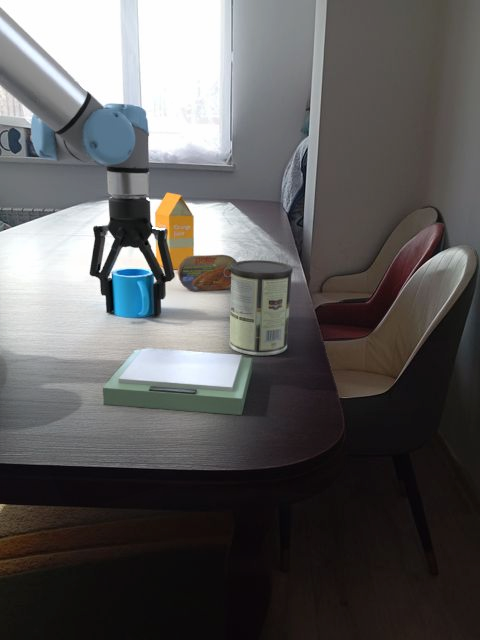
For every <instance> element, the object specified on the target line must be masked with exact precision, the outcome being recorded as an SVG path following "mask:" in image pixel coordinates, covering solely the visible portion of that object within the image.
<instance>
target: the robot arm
mask: <svg viewBox="0 0 480 640" xmlns="http://www.w3.org/2000/svg"><path fill="white" fill-rule="evenodd" d="M0 87H1V88H2V89H3V90H5V91H6V92H7V93H8V94H9V95H11V97H13V98H14V99H15V100H17V101H18V102H19V103H20V104H21V105H22V106H23V107H25V108H26V110H29V112H31V113H32V116H31V121H30V134H31V135H30V136H31V141H32V146H33V149H34V151H35V153H36V155H37V156H38V157H39V158H40V159H42V160H48V161H49V160H50V161H56V162H60V161H66V162H67V161H68V162H69V161H70V162H81V163H90V164H97V165H99V166H103V167H104V166H106V177H107V193H108V194H109V195H110V197H109V198H108V200H107V201H108V217H109V221H108V224H101V223H99V224H97V225H94V226H93V228H92V231H93V235H94V236H93V237H94V242H93V247H92V255H91V259H90V260H91V261H90V267H89V275H90V276H91V277H95V278H97V279H98V280H99V284H100V295H101V296H105V310H106V311H105V313H106V314H111V313H112V312H114V308H113V290H112V277H111V274H112V273H111V272H112V271H113V268H114V266H115V263H116V262H117V260H118V258H119V256H120V254H121V251H122V249H123V248H129V247H131V248H134V249H139V251H140V253H141V254H142V255H143V257H144V259H145V262H146V263H147V265H148V267H149V270H151V271H152V273H153V275H154V280H155V281H154V284H153V298H154V314H153V317H159V316H160V315H161V313H162V300H164V299H165V297H166V295H167V294H166V293H167V292H166V285H167V284H166V283H167V282H171V281H173V280H174V279H175V277H176V275H175V271H174V270H175V269H174V270H173V265H172V261H171V257H170V252H169V248H168V244H167V233H168V231H167V229H166V228H163V229H159V228H155V227H154V226H153V224H152V219H151V200H150V198H149V197H148V196H149V195H150V194H151V190H150V189H151V188H150V158H149V156H150V155H149V136H150V132H149V122H148V121H149V120H148V114H147V110H146V109H145V108H144V107H142V106H141V105H138V104H137V105H136V104H127V103H112V102H111V103H105V104H104V105H103V104H102V103H101V102H100V101H99V100H98V99H96V97H95V96H94V95H92V94H91V93H90V91H88V90H87V89H86V88H85V87H83V86H82V85H81V84H80V82H79V81H77V79H75V77H73V76H72V75H71V74H70V73H69V72H68V70H66V69H65V68H64V67H63V66H62V65H61V64H60V62H58V61H57V60H56V59H54V57H53V56H51V54H50V53H49V52H47V51H46V50H45V49H44V48H43V47H42V46H41V44H39V43H38V42H37V41H36V40H35V39H34V38H33V37H32V36H31V35H30V34H29V33H28V32H27V31H26V30H25V29H24V28H23V27H22V26H21V25H20V24H18V22H17V21H16V20H15V19H13V18H12V17H11V15H9V13H7V12H6V11H5V10H4V9H3V7H1V6H0ZM108 233H110V234H111V236H112V238H113V242H112V244H111V247H110V250H109V252H108V255H107V257H106V259H105V262H104V264H103V266H102V262H103V256H104V251H105V244H106V237H107V236H108ZM152 235H153V236H154V239H155V241H156V240H158V248H159V252H160V256H161V260H162V264H163V267H162V266H160V265H159V263H158V261H157V259H156V254H155V253H154V251H153V249H152V245H151V244H150V241H149V238H150V237H151V236H152Z"/></svg>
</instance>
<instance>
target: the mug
mask: <svg viewBox="0 0 480 640" xmlns="http://www.w3.org/2000/svg"><path fill="white" fill-rule="evenodd" d="M110 274H111V278H112V290H113V308H114V311H113V314H114V315H116V316H118V317H121V318H128V319H129V318H131V319H137V318H145V317H149V316H152V315H154V298H153V284H154V283H155V277H154V275H153V273H152V271H151V269H148V268H143V267H141V268H140V267H124V268H118V269H114V270H112V271H111V273H110Z"/></svg>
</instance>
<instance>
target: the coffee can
mask: <svg viewBox="0 0 480 640" xmlns="http://www.w3.org/2000/svg"><path fill="white" fill-rule="evenodd" d="M293 268H294V267H293V266H291V265H289V264H288V263H284V262H281V261H273V260H263V259H262V260H260V259H254V260H253V259H252V260H249V259H248V260H240V261H237V262H235V263H233V264H231V288H230V315H229V323H230V324H229V343H228V345H229V347H230V349H231V350H232V351H235V352H237V353H241V354H242V355H247V356H255V357H267V356H275V355H279V354H281V353H283V352H285V351H286V350H287V349H288V331H289V317H290V301H291V289H292V288H291V287H292V275H293V271H294V269H293Z"/></svg>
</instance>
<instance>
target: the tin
mask: <svg viewBox="0 0 480 640" xmlns="http://www.w3.org/2000/svg"><path fill="white" fill-rule="evenodd" d="M235 262H238V261H237V260H236V259H235V258H234V257H232V256H230V255H227V254H204V255H199V254H198V255H194V256H189V257H187V258H185V259H184V260H183V261H182V262H181V263H180V265H179V268H178V269H177V277H178V280H179V282H180V283H181V284H182V286H183V287H184V288H185V289H187V290H189V291H190V292H206V291H222V290H228V289H231V264H233V263H235Z"/></svg>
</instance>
